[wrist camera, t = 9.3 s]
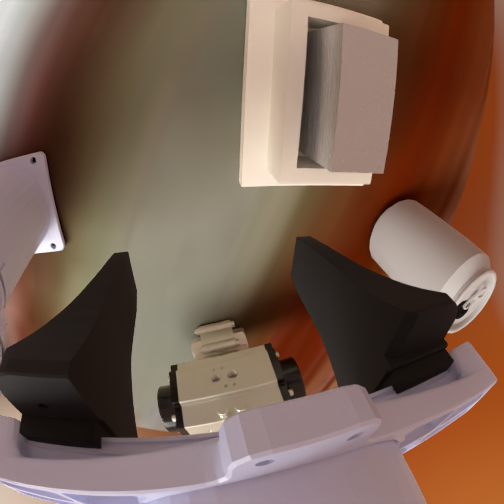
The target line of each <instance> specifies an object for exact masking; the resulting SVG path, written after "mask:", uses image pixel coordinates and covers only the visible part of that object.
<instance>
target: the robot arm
mask: <svg viewBox="0 0 504 504" xmlns="http://www.w3.org/2000/svg"><path fill="white" fill-rule="evenodd" d="M33 157H34V158H35V159H36V163H34V162H33ZM52 243H54V244H55V245H56V246H53V244H52ZM64 247H65V241H64V238H63V234H62V230H61V227H60V223H59V219H58V215H57V210H56V206H55V202H54V197H53V192H52V187H51V182H50V177H49V171H48V165H47V159H46V155H45V153H44V152H42V151H39V152H35V153H31V154H27V155H23V156H19V157H16V158H12V159H8V160H5V161H2V162H0V396H1V394H2V393H3V395H4V396H5V397H6V398H7V399H8V400H9V401H10V402H11V403H12V404H13V405H14V406H15V407H16V408H17V409H18V410H19V411H20V412H21V413H22V418H21V422H20V421H18V420H17V419H14V418H11V417H6V416H1V415H0V483H2V484H3V485H6V486H7V487H9V488H11V489H13V490H15V491H17V492H19V493H21V494H24V495H27V496H30V497H34V498H37V499H41V500H46V501H49V502H53V503H57V504H427V503H426V501H425V499H424V497H423V494H422V493H421V490H420V488H419V487H418V485H417V482H416V480H415V478H414V476H413V474H412V472H411V470H410V469H409V466H408V464H407V463H406V461H405V459H404V457H403V455H402V454H403V453H405V452H407V451H408V450H410V449H412V448H413V447H415V446H417V445H418V444H420V443H422V442H423V441H425V440H426V439H428V438H429V437H431V436H433V435H434V434H435V433H437V432H439V431H440V430H442V429H443V428H444V427H446V426H448V425H449V424H450V423H452V422H453V421H455V420H456V419H458V418H459V417H460V416H462V415H463V414H464V413H466V412H467V411H468V410H469V409H470V408H471V407H473V405H475V404H476V403H477V402H478V401H479V400H480V399H481V398H482V397H483V396H484V394H485V393H486V392H487V391H488V390H489V389H490V388H491V387H492V386H493V385H494V384H495V383H496V382H497V378H496V377H495V375H494V374H493V373H492V371H491V370H490V369H489V367H488V366H487V365H486V363H485V362H484V361H483V359H482V358H481V357H480V355H479V354H478V353H477V352H476V350H475V349H474V348H473V347H472V345H471V344H470V343H469V342H466V343H464V344H462V345H460V346H458V347H456V348H454V349H453V350H452V351H451V352H450V353H448V352H447V351H446V349H445V348H446V347H447V342H446V341H445V340H444V337H445V336H446V334H447V333H448V331H449V329H450V328H451V326H452V324H453V323H454V321H455V319H456V316H457V313H458V306H457V304H456V303H455V302H454V301H453V299H452V298H451V297H450V296H449V295H448V294H447V293H443V292H438V291H432V290H427V289H422V288H418V287H415V286H411V285H407V284H404V283H401V282H398V281H395V280H393V279H390V278H387V277H385V276H382V275H380V274H378V273H375V272H373V271H371V270H369V269H367V268H365V267H363V266H361V265H359V264H357V263H355V262H353V261H352V260H350V259H348V258H346V257H345V256H343V255H341V254H340V253H338V252H336V251H334V250H333V249H331V248H330V247H328V246H326V245H325V244H323V243H321V242H319V241H318V240H316V239H314V238H312V237H310V236H307V237H297V238H296V245H295V252H294V259H293V266H292V272H291V276H292V279H293V282H294V285H295V287H296V290H297V292H298V295H299V296H300V298H301V300H302V302H303V304H304V306H305V308H306V309H307V311H308V313H309V315H310V317H311V319H312V320H313V322H314V324H315V326H316V328H317V330H318V332H319V334H320V336H321V338H322V341H323V343H324V346H325V348H326V351H327V353H328V356H329V359H330V362H331V365H332V368H333V371H334V374H335V377H336V380H337V384H338V388H334V389H331V390H327V391H324V392H320V393H316V394H312V395H308V396H304V397H300V398H296V399H292V400H288V401H283V402H278V403H274V404H269V405H264V406H259V407H255V408H252V409H248V410H245V411H241V412H238V413H237V414H235V415H233V416H231V417H229V418H228V419H226V420H225V421H224V422H223V424H222V425H221V427H220V429H219V431H218V432H211V433H202V434H193V435H182V436H169V437H146V438H138V437H137V430H136V423H135V415H134V406H133V395H132V379H131V353H132V344H133V335H134V327H135V319H136V311H137V289H136V285H135V281H134V277H133V272H132V268H131V263H130V258H129V254H128V252H120V253H114V254H113V255H112V256H111V258H110V259H109V260H108V261H107V262H106V264H105V265H104V266H103V267H102V269H101V270H100V271H99V272H98V274H97V275H96V276H95V277H94V278H93V280H92V281H91V282H90V283H89V284H88V285H87V286H86V287H85V289H84V290H83V291H82V292H81V293H80V294H79V295H78V296H77V297H76V298H75V299H74V300H73V301H72V302H71V303H70V304H69V305H68V306H67V307H66V308H65V309H64V310H63V311H61V312H60V313H59V314H58V315H57V316H55V317H54V318H53V319H52V320H50V321H49V322H48V323H47V324H45V325H44V326H43V327H41V328H40V329H38V330H37V331H35V332H34V333H32V334H31V335H29V336H28V337H26V338H25V339H23V340H21V341H19V342H17V343H16V344H14V345H12V346H10V347H8V348H6V346H5V344H4V343H3V341H2V339H1V337H2V334H3V332H4V330H5V327H6V325H7V323H6V321H5V319H4V315H3V310H4V308H5V306H6V304H7V302H8V300H9V298H10V296H11V294H12V292H13V290H14V288H15V286H16V284H17V283H18V281H19V279H20V277H21V275H22V274H23V272H24V270H25V268H26V267H27V265H28V263H29V262H30V260H31V258H32V257H33V255H34V254H35V253H43V252H52V251H61V250H63V249H64Z"/></svg>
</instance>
